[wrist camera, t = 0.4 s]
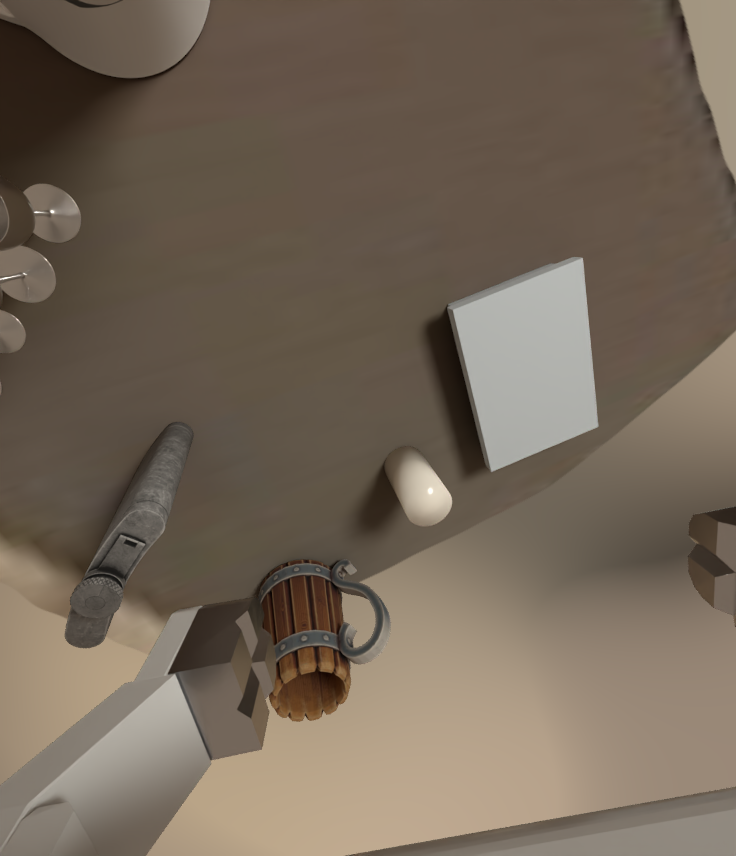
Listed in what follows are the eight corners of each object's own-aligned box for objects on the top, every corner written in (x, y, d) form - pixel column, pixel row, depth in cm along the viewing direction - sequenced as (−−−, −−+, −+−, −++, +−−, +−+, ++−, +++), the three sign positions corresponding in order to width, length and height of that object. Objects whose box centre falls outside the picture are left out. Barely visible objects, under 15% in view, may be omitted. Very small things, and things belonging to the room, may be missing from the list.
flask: (108, 521, 49) (34, 667, 33) (163, 414, 45) (110, 518, 29) (142, 532, 50) (88, 677, 34) (198, 429, 46) (165, 536, 30)
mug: (291, 629, 61) (299, 743, 48) (240, 587, 56) (235, 700, 43) (384, 568, 60) (420, 666, 47) (341, 519, 55) (368, 613, 42)
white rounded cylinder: (378, 455, 53) (400, 497, 45) (417, 439, 53) (445, 478, 45) (391, 488, 55) (413, 533, 47) (428, 472, 55) (456, 514, 47)
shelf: (438, 303, 46) (452, 309, 43) (558, 255, 47) (582, 258, 44) (476, 456, 56) (491, 471, 52) (576, 413, 56) (598, 426, 53)
